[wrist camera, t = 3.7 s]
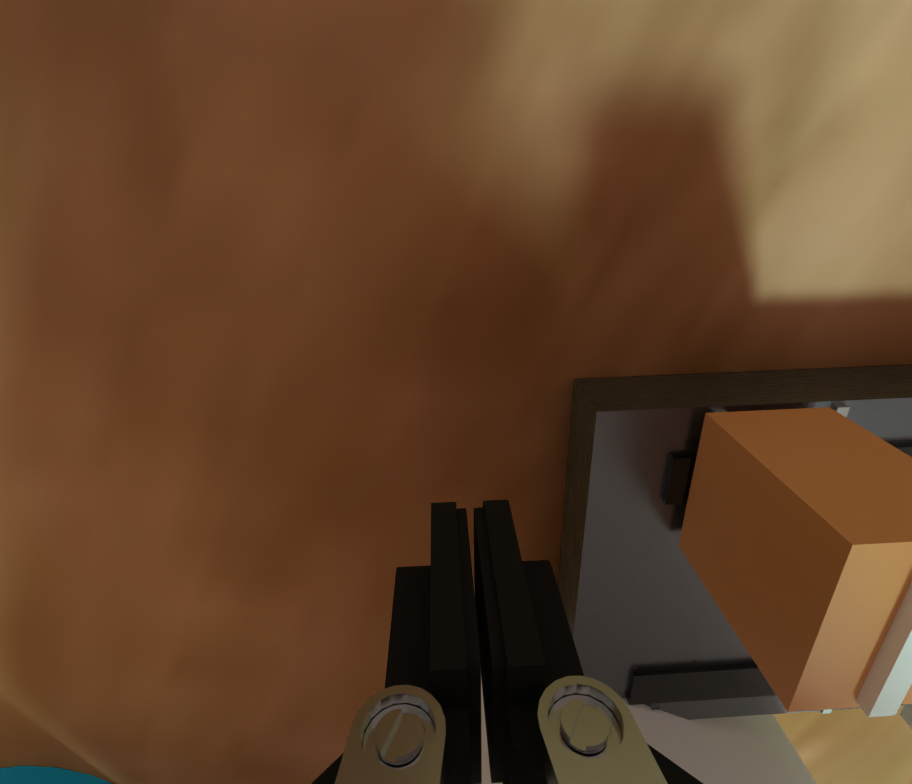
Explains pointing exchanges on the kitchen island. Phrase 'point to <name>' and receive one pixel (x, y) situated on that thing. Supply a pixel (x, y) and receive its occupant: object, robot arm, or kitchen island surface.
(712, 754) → the gable box
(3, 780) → the mug
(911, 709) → the fader ivory
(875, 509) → the fader orange
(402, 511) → the kitchen island surface
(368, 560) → the kitchen island surface
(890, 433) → the console
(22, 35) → the kitchen island surface
